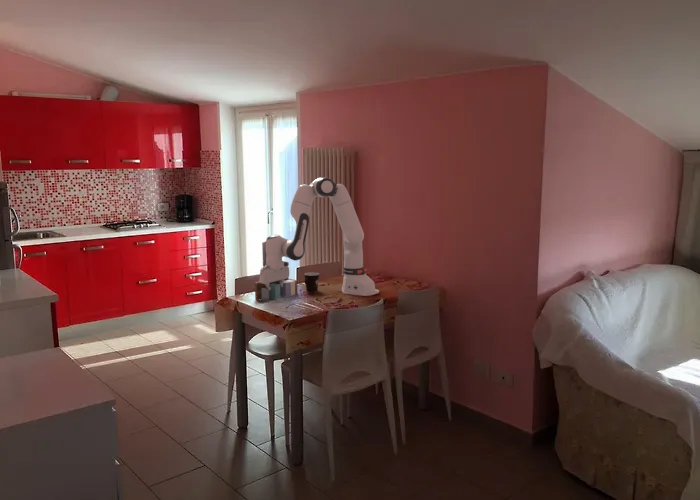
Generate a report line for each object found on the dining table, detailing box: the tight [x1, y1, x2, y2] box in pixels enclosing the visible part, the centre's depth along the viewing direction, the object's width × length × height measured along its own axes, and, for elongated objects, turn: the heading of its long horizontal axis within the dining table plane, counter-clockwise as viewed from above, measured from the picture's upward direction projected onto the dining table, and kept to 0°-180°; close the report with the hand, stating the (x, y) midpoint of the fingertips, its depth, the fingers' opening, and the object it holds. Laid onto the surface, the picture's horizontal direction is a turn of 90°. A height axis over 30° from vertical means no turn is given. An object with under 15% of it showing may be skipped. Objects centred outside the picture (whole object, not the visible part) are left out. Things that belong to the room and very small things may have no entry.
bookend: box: [255, 288, 270, 304], centre depth 322 cm, size 5×5×7 cm
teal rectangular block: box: [269, 283, 281, 301], centre depth 330 cm, size 5×4×8 cm
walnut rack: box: [254, 278, 299, 301], centre depth 333 cm, size 8×25×10 cm, turn 142°
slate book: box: [279, 281, 291, 298], centre depth 336 cm, size 5×4×8 cm
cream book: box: [286, 279, 296, 297], centre depth 339 cm, size 5×4×8 cm
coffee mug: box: [304, 272, 320, 293], centre depth 347 cm, size 12×9×10 cm
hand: (274, 288), depth 329 cm, fingers open, 8 cm apart
